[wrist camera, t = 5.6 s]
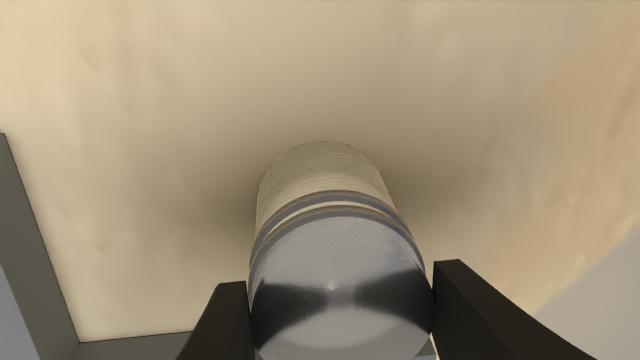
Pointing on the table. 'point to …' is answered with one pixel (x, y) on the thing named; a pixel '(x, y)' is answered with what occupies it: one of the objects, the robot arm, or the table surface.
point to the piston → (334, 262)
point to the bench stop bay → (57, 294)
